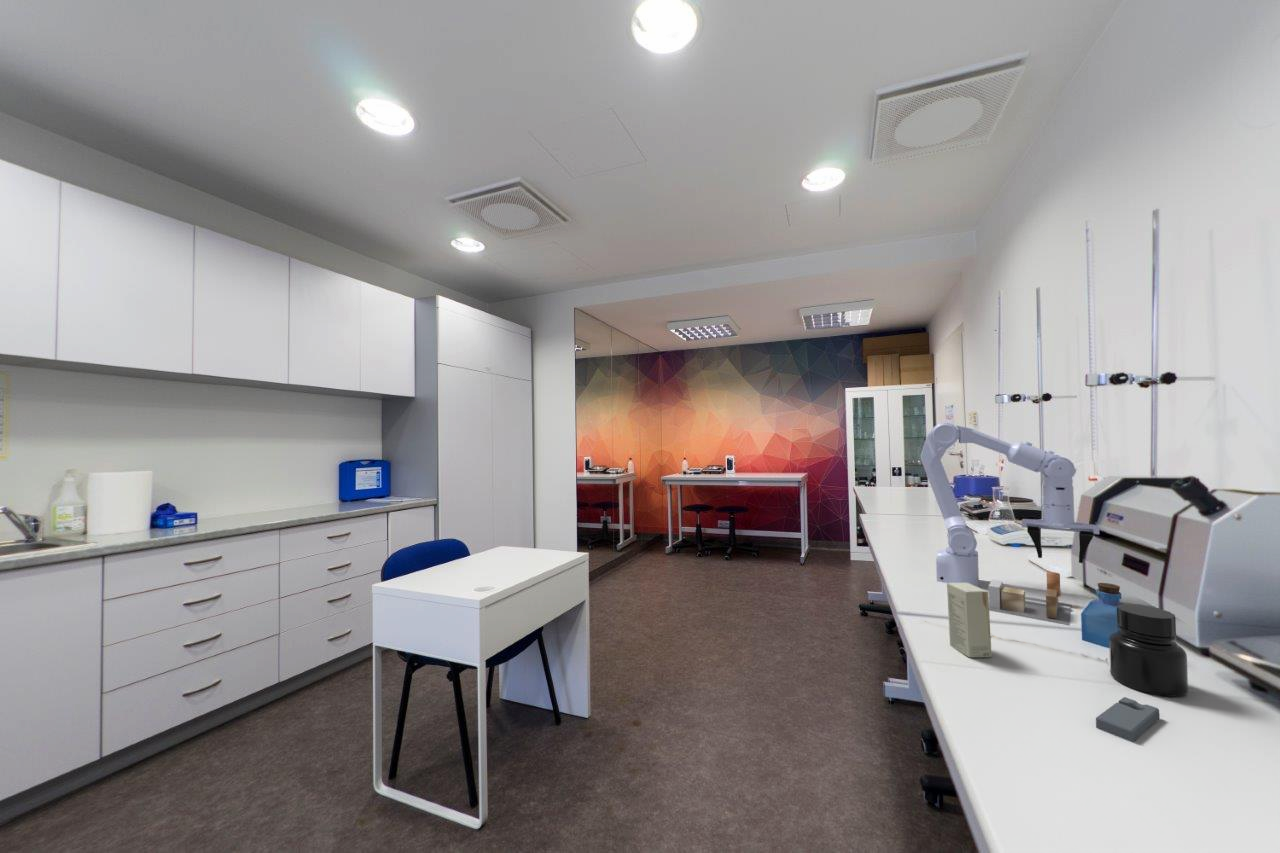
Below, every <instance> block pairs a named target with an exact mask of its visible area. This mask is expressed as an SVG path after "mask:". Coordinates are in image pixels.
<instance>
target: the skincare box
mask: <svg viewBox="0 0 1280 853" xmlns="http://www.w3.org/2000/svg"><path fill="white" fill-rule="evenodd" d="M946 589H947V594H946V595H947V609H948V611H947V612H948V614H947V615H948V634H949V645H950V646H951V647H953V649H954V648H955V649H956V650H957V651H959V652H960V653H962V654H963V655H965V656H966V657H968V658H992V656H993V655H992V639H991V622H990V621H991V620H990V611H989V590H988V591H987V590H986V589H983V588H981V587H979V586H974V585H972V584H970V583H946Z"/></svg>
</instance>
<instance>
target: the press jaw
mask: <svg viewBox="0 0 1280 853" xmlns="http://www.w3.org/2000/svg"><path fill="white" fill-rule="evenodd" d="M1060 597H1061V574H1060V573H1058V572H1055V571H1047V572H1046V593H1045V600H1046V614H1047V617H1050V618H1056V617H1057V607H1058V602H1059V598H1060Z"/></svg>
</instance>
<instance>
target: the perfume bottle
mask: <svg viewBox="0 0 1280 853" xmlns="http://www.w3.org/2000/svg"><path fill="white" fill-rule="evenodd" d="M1097 586H1098V587H1097V588H1098V589H1096V596H1098V598H1097V599H1094V600H1091V601H1090V602H1088V604H1087V605H1086V606H1085V608H1084V609H1083V611H1082V612H1081V613H1080V618H1081V619H1080V620H1081V625H1080V626H1081V641H1082V642H1083V641H1084V642H1086V643H1090V644H1093V645H1097V646H1101V647H1103V648H1106V649H1109V637H1110V636H1111V635H1112V634H1114V633H1116V632H1117V631H1119V630H1120V629H1119V628H1118V627H1117V625H1118V624H1117V605H1120V604H1126V603H1124V602H1120V600H1122V593H1121V592H1120V589H1121V586H1120V585H1117V584H1114V583H1107V582H1098V583H1097Z"/></svg>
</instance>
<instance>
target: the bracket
mask: <svg viewBox="0 0 1280 853" xmlns="http://www.w3.org/2000/svg"><path fill="white" fill-rule="evenodd" d="M1159 721H1160V709H1159V708H1158V707H1155V706H1153V705H1150V704H1141V703H1139V702H1137V701H1136V700H1134V699H1132V698H1128V697H1126V696H1124V697H1122V698H1121V699H1119V700H1118V702H1115V703H1114V704H1113V705H1112V706H1110V707H1109V708H1107V709H1106V710H1105V711H1103V712H1101V714H1099V715H1098V716H1096V717H1095V727H1096V729H1098V730H1101V731H1102V732H1105V733H1109V734H1110V735H1113V736H1115V737H1118V738H1121V739H1123V740H1126V741H1129V742H1131V743H1135V742H1136V741H1137V740H1138V739H1139V738H1140V737H1142V736H1143V735H1144V733H1146V732H1147V731H1148V730H1149V729H1151V727H1152V726H1153V727H1154V725H1155V724H1156V723H1157V722H1159Z"/></svg>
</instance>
